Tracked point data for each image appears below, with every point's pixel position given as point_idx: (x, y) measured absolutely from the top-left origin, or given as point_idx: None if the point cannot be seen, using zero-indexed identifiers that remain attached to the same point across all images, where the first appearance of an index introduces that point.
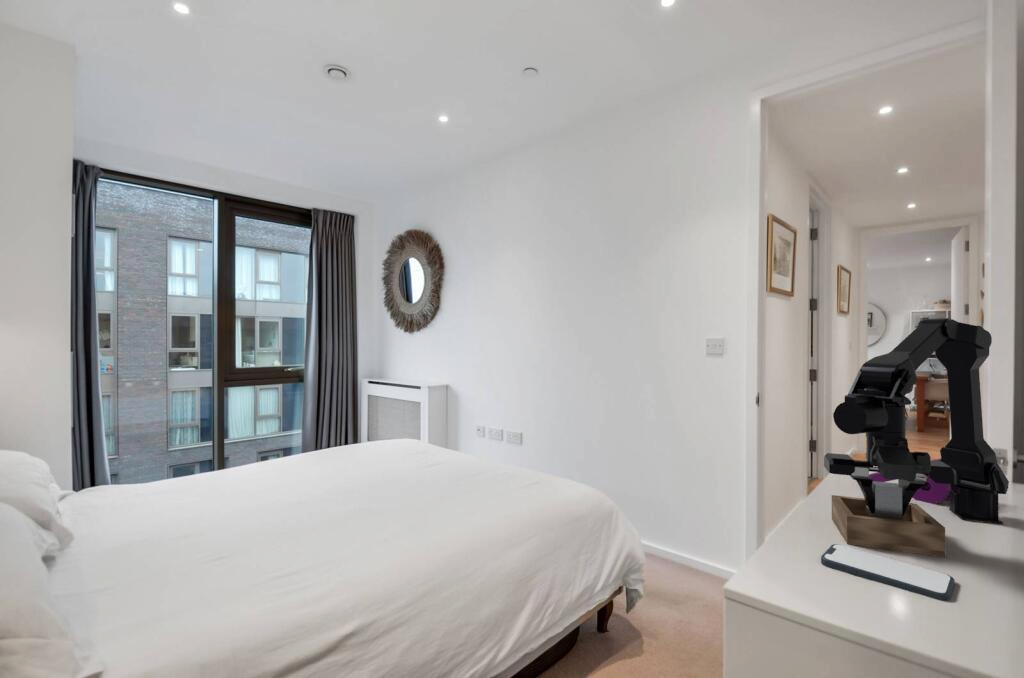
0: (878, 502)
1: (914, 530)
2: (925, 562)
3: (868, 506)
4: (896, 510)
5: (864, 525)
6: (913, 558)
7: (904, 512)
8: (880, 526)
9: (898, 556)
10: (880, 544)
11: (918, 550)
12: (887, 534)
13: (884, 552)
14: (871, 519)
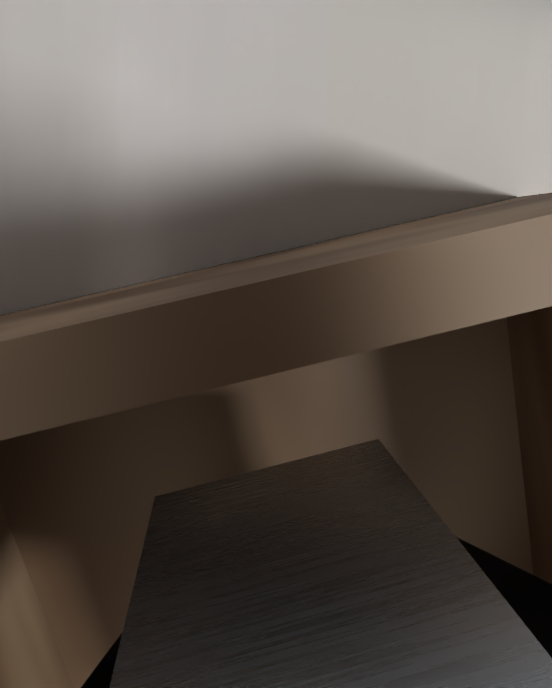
0: (458, 614)
1: (32, 325)
2: (26, 126)
3: None
4: (197, 601)
5: (505, 214)
6: (105, 167)
7: (106, 657)
8: (361, 250)
9: (202, 144)
10: (319, 244)
11: (65, 302)
12: (283, 260)
13: (290, 175)
14: (483, 228)
